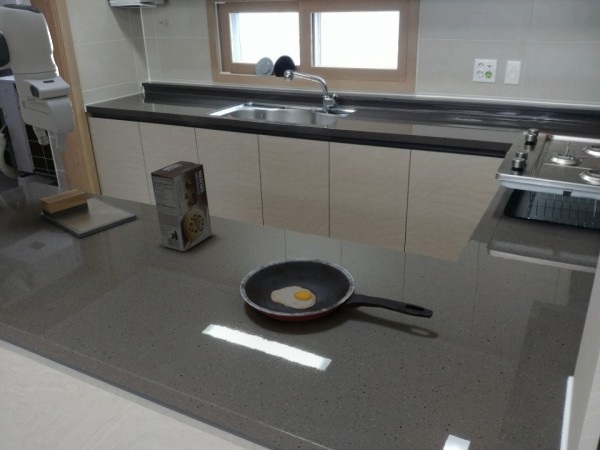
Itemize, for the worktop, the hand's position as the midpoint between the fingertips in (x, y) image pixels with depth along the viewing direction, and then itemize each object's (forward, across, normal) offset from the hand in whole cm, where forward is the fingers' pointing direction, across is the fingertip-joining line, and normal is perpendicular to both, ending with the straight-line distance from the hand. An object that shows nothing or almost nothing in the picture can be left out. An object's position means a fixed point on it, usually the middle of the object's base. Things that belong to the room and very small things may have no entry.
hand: (53, 147), depth 121 cm
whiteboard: (+17, +3, +3) cm, 18 cm away
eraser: (+16, -3, +1) cm, 17 cm away
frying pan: (+18, +74, +11) cm, 77 cm away
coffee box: (+18, +33, +11) cm, 39 cm away
